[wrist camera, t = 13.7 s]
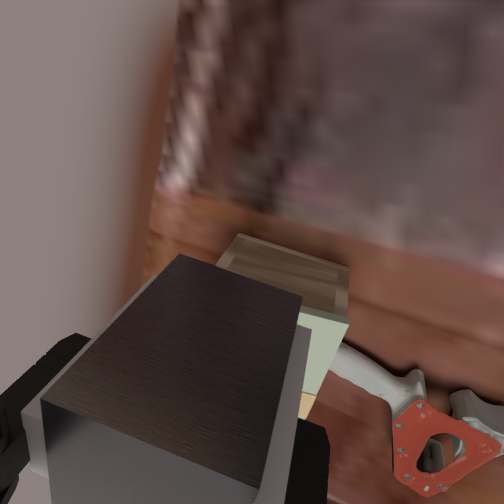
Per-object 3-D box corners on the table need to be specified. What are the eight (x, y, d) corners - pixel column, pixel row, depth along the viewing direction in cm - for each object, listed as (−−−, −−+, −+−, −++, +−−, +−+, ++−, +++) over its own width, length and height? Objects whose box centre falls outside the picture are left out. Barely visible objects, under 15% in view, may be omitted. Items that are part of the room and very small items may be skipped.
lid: (197, 278, 26) (193, 286, 25) (347, 317, 25) (349, 326, 25) (174, 427, 35) (171, 436, 34) (284, 456, 35) (283, 466, 34)
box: (238, 232, 34) (208, 274, 27) (349, 267, 33) (346, 320, 26) (212, 358, 43) (184, 413, 36) (297, 390, 42) (285, 453, 35)
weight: (179, 253, 14) (39, 398, 7) (303, 296, 13) (259, 489, 7) (165, 344, 16) (52, 508, 10) (268, 384, 15) (215, 583, 9)
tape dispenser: (312, 318, 39) (351, 449, 45) (302, 349, 34) (347, 489, 40) (502, 303, 31) (517, 462, 38) (521, 339, 27) (535, 513, 33)
